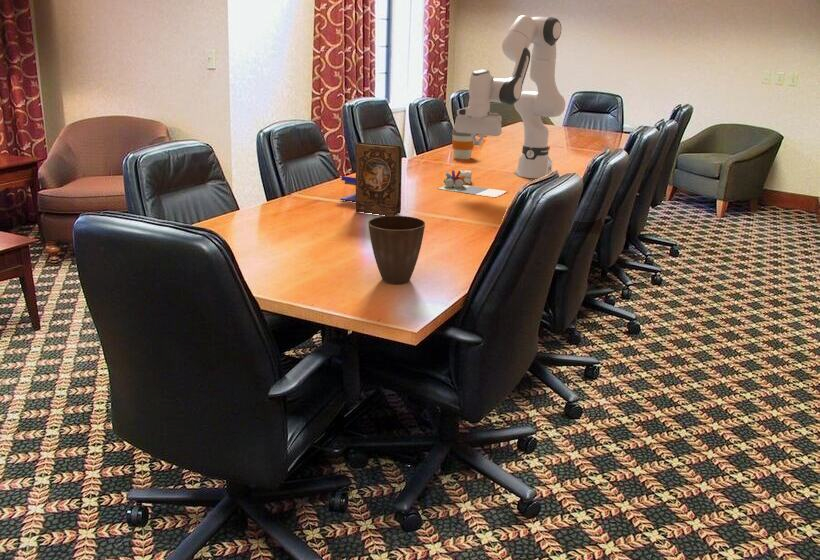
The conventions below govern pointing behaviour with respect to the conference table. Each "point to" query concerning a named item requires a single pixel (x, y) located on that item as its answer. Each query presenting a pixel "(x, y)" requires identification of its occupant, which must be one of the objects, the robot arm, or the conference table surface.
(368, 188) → the book
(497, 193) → the game mat
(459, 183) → the rainbow segmented toy
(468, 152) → the reusable coffee cup
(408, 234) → the plant pot
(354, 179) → the stapler
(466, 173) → the die
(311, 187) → the conference table surface
